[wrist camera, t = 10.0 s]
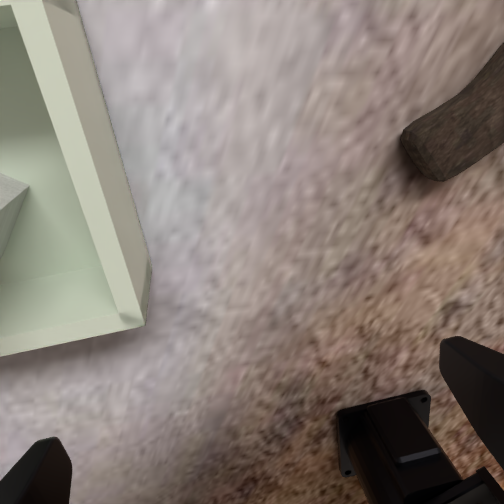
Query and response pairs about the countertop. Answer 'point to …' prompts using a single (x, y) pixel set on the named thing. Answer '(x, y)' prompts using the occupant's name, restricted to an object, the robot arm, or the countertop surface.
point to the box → (63, 189)
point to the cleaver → (460, 126)
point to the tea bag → (9, 206)
